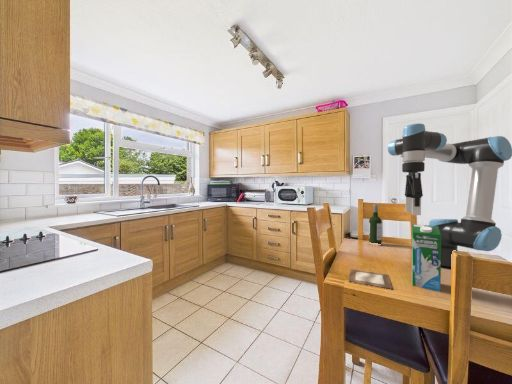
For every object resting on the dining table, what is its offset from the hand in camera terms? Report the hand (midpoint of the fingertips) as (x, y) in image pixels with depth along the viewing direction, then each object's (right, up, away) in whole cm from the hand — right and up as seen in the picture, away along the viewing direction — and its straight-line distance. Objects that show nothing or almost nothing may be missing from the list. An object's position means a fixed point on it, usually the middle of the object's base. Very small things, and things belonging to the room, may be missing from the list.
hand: (412, 213), depth 91 cm
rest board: (-14, -30, +7) cm, 34 cm away
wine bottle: (+20, -30, +66) cm, 75 cm away
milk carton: (+6, -31, +1) cm, 31 cm away
